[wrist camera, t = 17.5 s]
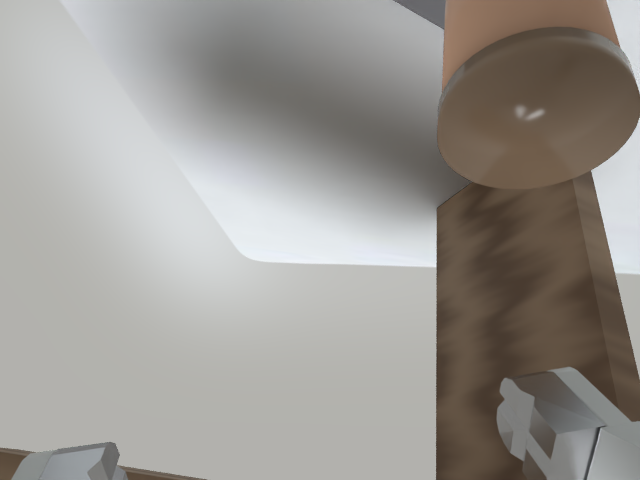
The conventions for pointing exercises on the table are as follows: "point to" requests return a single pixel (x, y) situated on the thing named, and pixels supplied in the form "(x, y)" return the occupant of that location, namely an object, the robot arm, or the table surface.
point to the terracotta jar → (532, 91)
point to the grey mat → (427, 9)
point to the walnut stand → (509, 317)
